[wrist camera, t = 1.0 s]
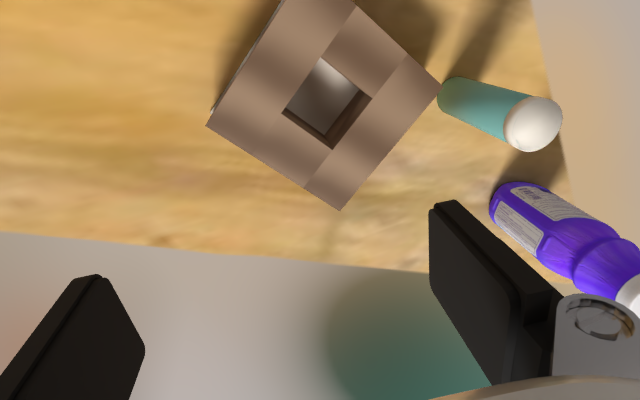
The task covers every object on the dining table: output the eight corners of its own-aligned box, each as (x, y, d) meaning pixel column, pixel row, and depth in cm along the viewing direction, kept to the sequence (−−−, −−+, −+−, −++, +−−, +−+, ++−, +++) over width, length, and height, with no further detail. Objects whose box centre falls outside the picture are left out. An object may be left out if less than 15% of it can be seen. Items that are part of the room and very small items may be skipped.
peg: (455, 67, 34) (543, 87, 23) (479, 91, 35) (572, 120, 25) (429, 99, 35) (501, 132, 24) (453, 121, 36) (531, 161, 26)
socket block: (302, -33, 29) (309, -43, 24) (423, 78, 34) (446, 86, 30) (210, 112, 33) (201, 126, 28) (331, 191, 38) (339, 213, 34)
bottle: (476, 218, 42) (598, 330, 27) (495, 174, 40) (640, 269, 25) (528, 224, 44) (671, 333, 28) (549, 182, 42) (718, 276, 26)
